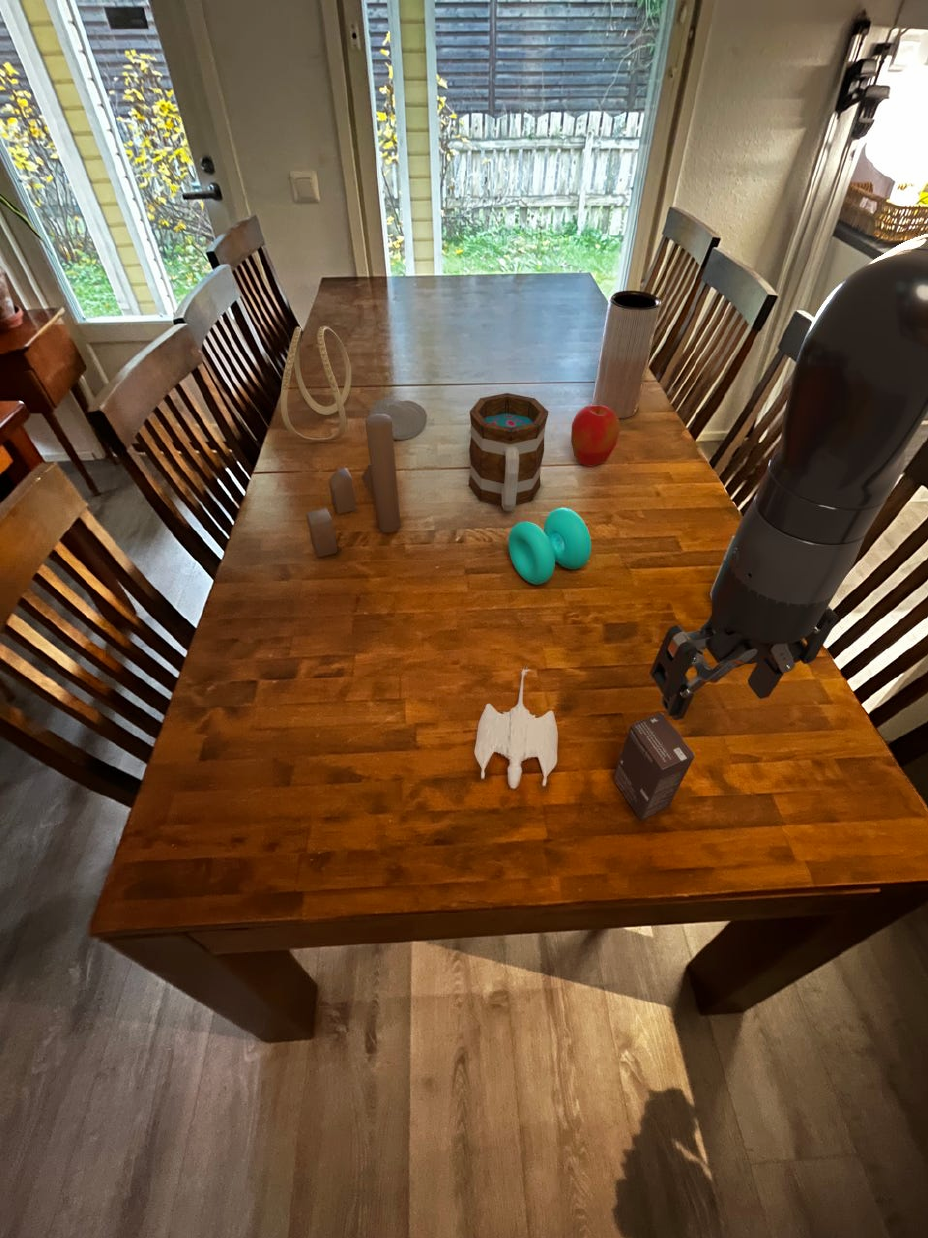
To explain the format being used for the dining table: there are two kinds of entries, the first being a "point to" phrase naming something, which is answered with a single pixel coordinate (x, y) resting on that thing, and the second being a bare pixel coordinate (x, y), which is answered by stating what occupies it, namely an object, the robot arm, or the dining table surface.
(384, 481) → the wooden blocks
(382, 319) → the dining table surface
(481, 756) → the white dragon
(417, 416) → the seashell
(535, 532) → the turquoise yo-yo
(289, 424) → the beige looped band
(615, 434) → the apple
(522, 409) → the mug
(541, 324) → the dining table surface
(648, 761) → the box
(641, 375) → the planter
